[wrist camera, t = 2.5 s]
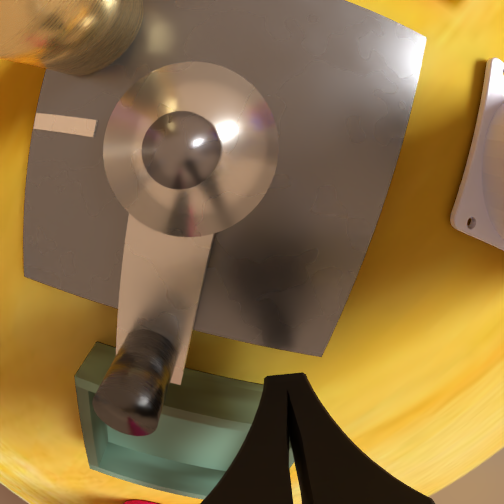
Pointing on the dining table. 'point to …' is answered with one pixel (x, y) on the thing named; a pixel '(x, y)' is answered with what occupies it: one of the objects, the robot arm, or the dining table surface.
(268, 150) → the crank
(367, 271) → the dining table surface
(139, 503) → the pepper mill
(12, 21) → the pin
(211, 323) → the crank base
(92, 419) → the tray
